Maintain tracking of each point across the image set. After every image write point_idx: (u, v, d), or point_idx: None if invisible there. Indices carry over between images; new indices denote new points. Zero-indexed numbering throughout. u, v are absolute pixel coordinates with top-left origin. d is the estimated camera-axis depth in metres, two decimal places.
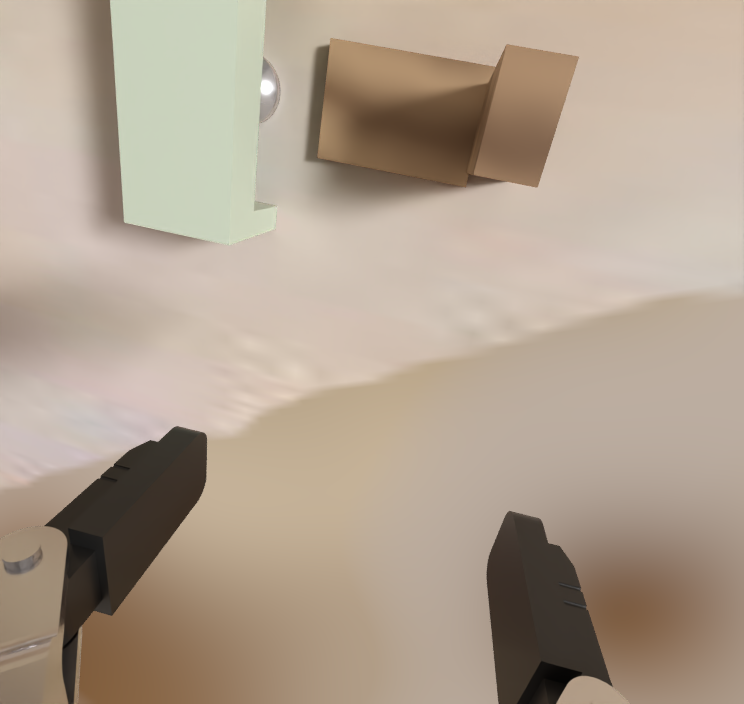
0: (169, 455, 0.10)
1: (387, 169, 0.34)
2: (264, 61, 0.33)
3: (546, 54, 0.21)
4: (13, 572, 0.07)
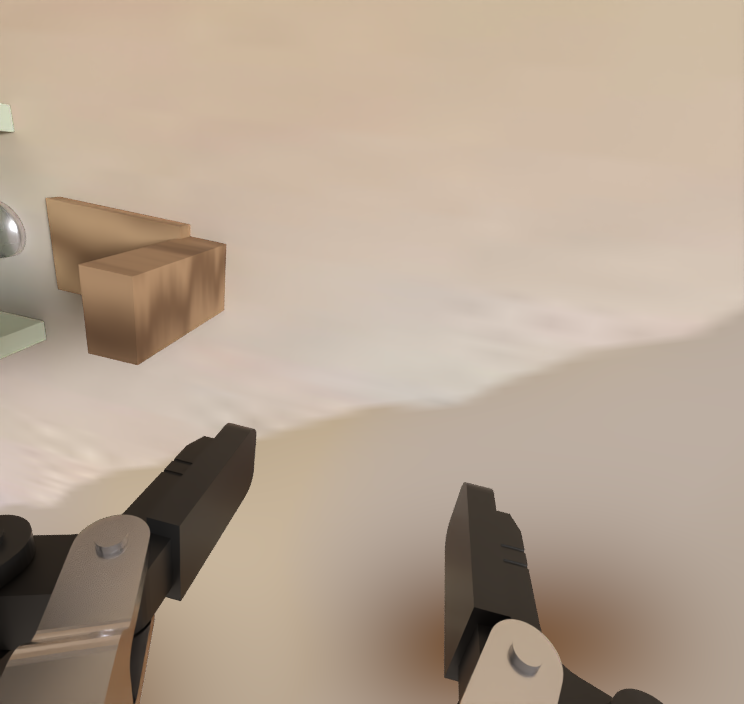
0: (227, 450, 0.10)
1: None
2: (1, 210, 0.38)
3: (109, 273, 0.26)
4: (106, 557, 0.07)
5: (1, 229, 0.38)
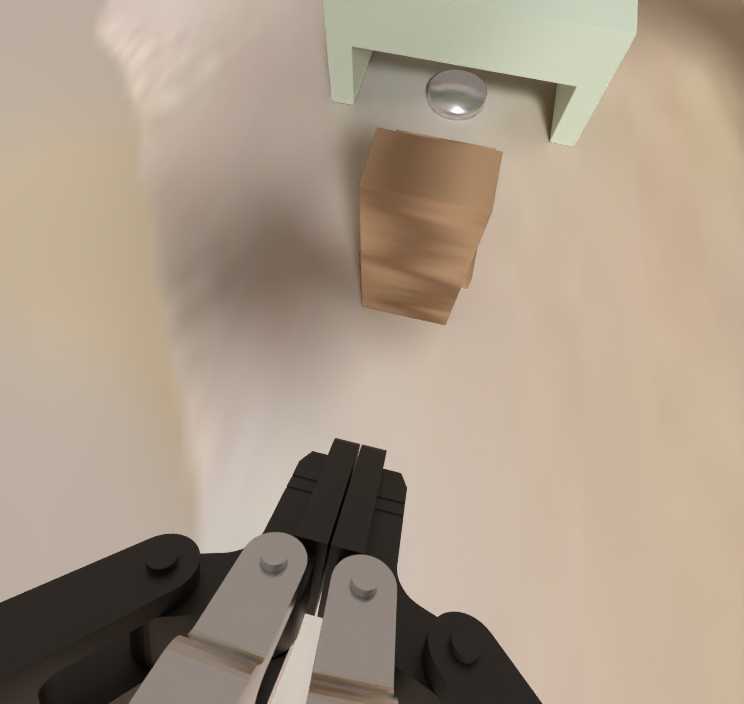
0: (344, 466, 0.11)
1: None
2: (477, 105, 0.36)
3: (493, 184, 0.19)
4: (275, 576, 0.07)
5: (458, 98, 0.37)
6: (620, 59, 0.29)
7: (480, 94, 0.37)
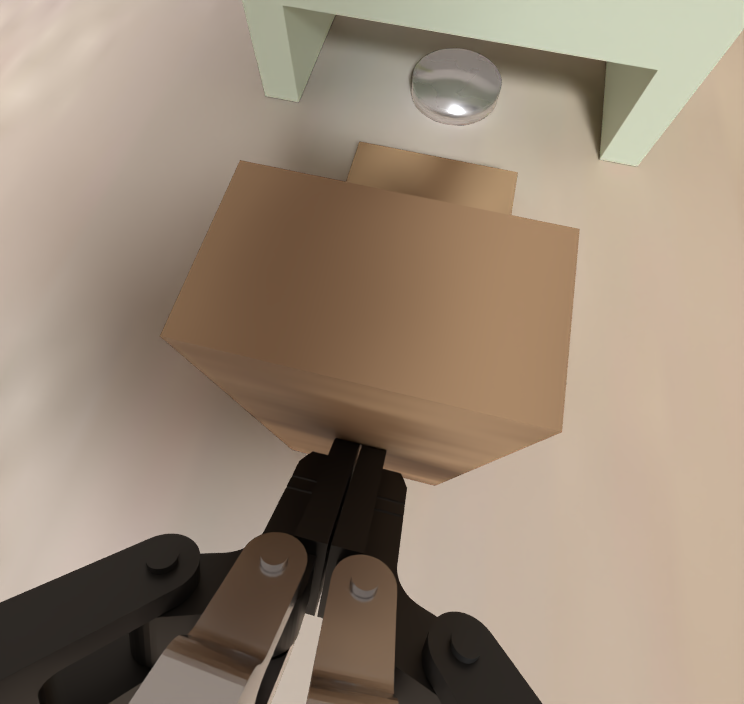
0: (344, 466, 0.11)
1: None
2: (487, 102, 0.23)
3: (561, 333, 0.07)
4: (275, 576, 0.07)
5: (458, 92, 0.24)
6: None
7: (491, 85, 0.24)
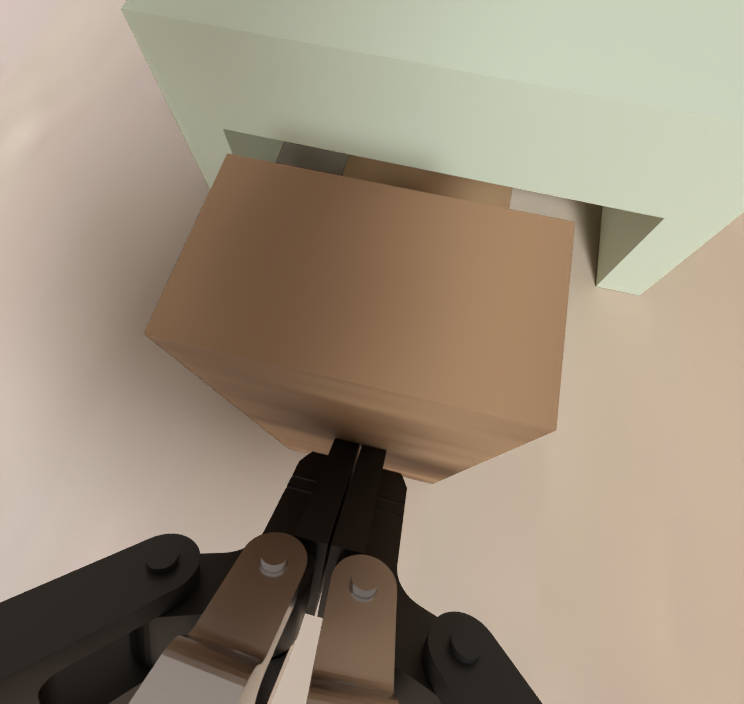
0: (344, 466, 0.11)
1: None
2: None
3: (555, 329, 0.06)
4: (275, 576, 0.07)
5: None
6: None
7: None
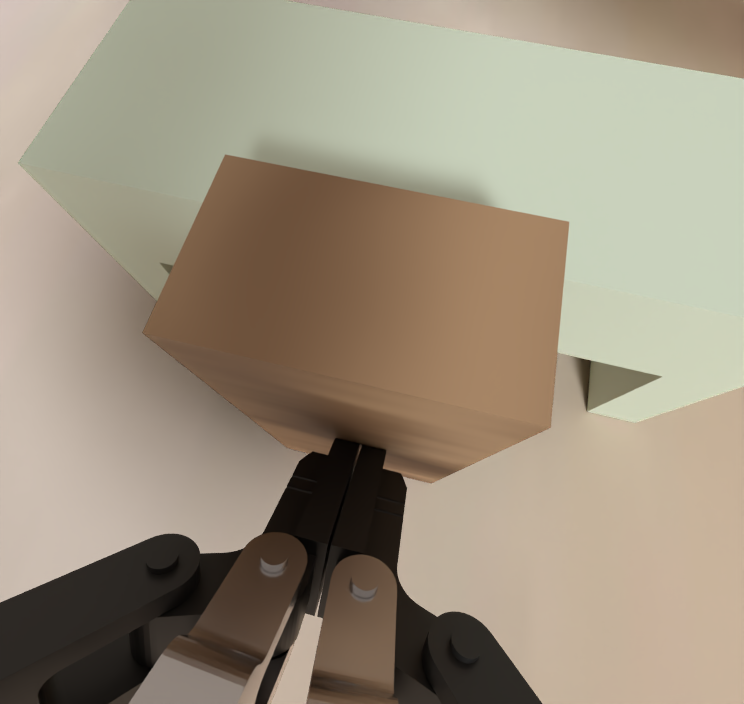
0: (344, 466, 0.11)
1: None
2: None
3: (550, 327, 0.06)
4: (275, 576, 0.07)
5: None
6: None
7: None
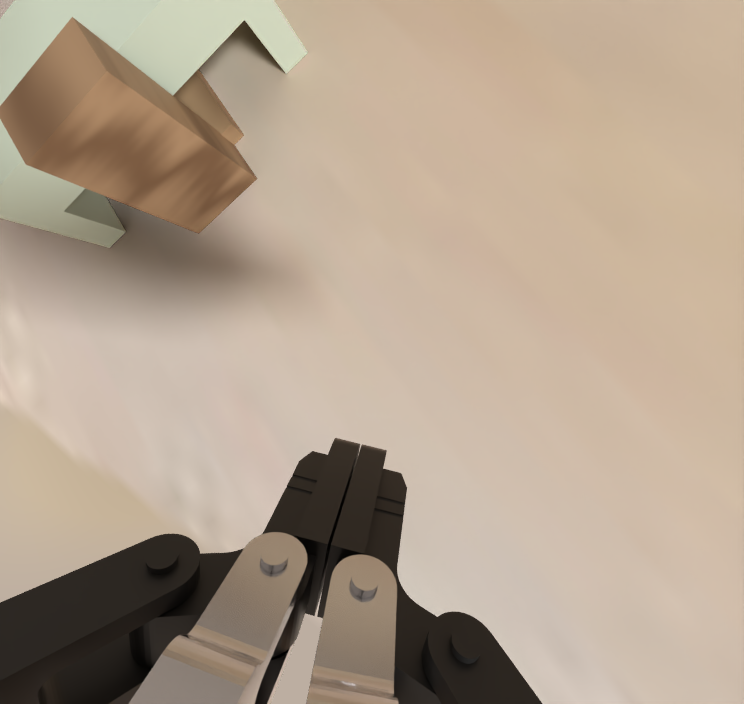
0: (344, 466, 0.11)
1: None
2: None
3: (90, 49, 0.19)
4: (275, 576, 0.07)
5: None
6: None
7: None
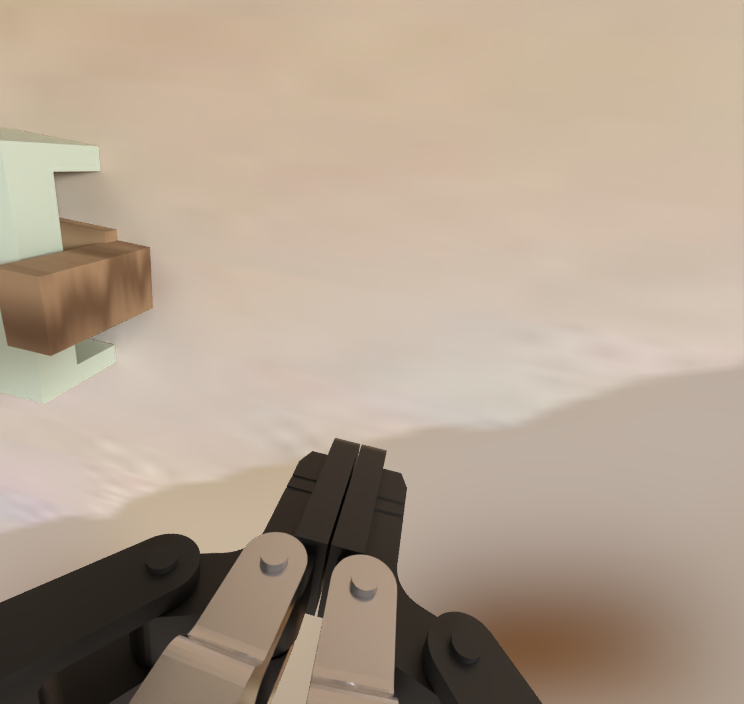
0: (344, 466, 0.11)
1: None
2: None
3: (18, 274, 0.29)
4: (275, 576, 0.07)
5: None
6: (22, 143, 0.30)
7: None
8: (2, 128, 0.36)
